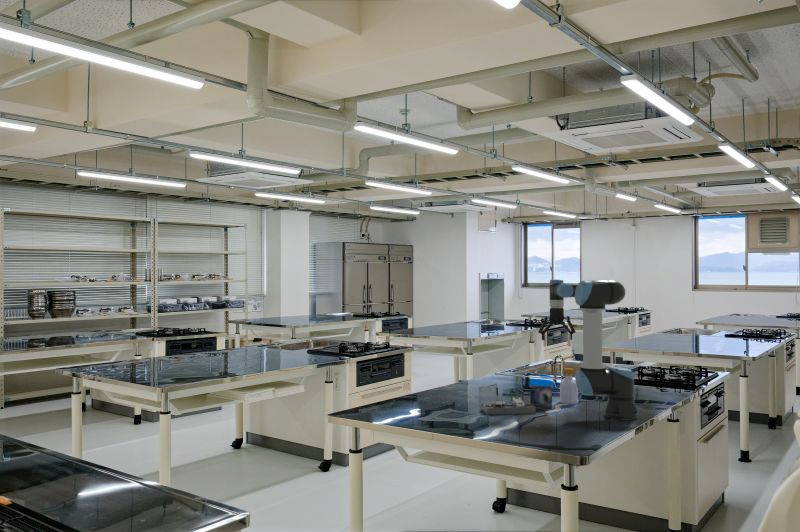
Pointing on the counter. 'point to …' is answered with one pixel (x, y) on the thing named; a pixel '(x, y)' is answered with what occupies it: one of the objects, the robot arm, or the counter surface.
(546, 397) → the small box
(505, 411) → the power strip
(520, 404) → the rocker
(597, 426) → the counter surface
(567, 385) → the soap bottle
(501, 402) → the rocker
